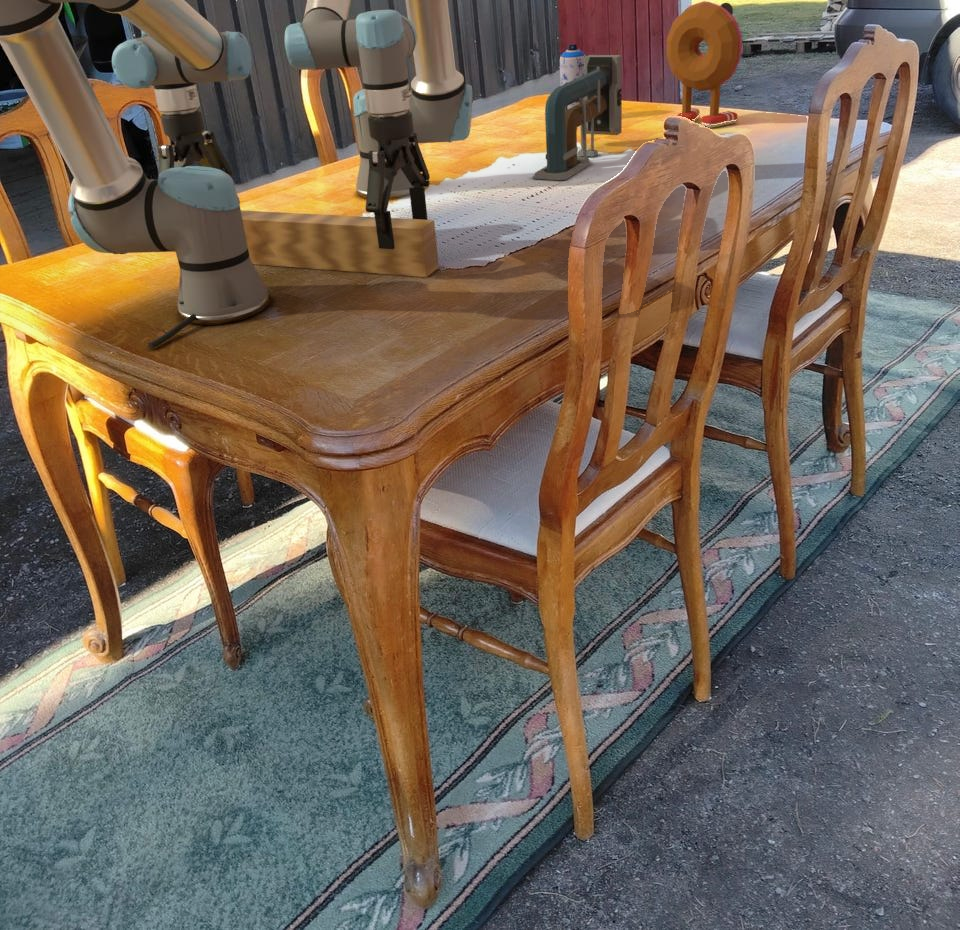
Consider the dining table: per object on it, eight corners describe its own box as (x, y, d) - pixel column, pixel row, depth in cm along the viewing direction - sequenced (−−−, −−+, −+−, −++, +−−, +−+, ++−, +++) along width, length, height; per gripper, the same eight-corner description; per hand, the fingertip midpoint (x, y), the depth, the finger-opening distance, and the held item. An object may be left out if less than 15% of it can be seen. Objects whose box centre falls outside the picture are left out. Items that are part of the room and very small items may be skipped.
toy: (748, 122, 257) (756, -2, 242) (728, 130, 251) (735, 3, 236) (679, 116, 271) (683, -2, 255) (659, 123, 264) (661, 3, 249)
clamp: (565, 180, 221) (562, 81, 210) (530, 178, 225) (526, 81, 214) (621, 144, 247) (621, 55, 236) (589, 143, 251) (588, 55, 240)
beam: (183, 259, 192) (173, 215, 188) (199, 250, 196) (190, 207, 192) (426, 277, 172) (421, 228, 168) (439, 267, 176) (434, 220, 172)
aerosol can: (559, 122, 275) (557, 47, 265) (562, 117, 282) (559, 42, 272) (587, 121, 274) (585, 45, 263) (589, 115, 280) (587, 41, 270)
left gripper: (152, 124, 167) (179, 244, 177) (236, 98, 187) (257, 208, 197) (118, 124, 170) (147, 242, 180) (205, 99, 189) (226, 207, 200)
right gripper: (374, 130, 151) (391, 260, 162) (440, 96, 170) (451, 214, 182) (332, 130, 154) (352, 258, 165) (402, 96, 173) (415, 212, 184)
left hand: (204, 225), depth 189 cm, fingers open, 13 cm apart
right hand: (404, 235), depth 173 cm, fingers open, 13 cm apart
